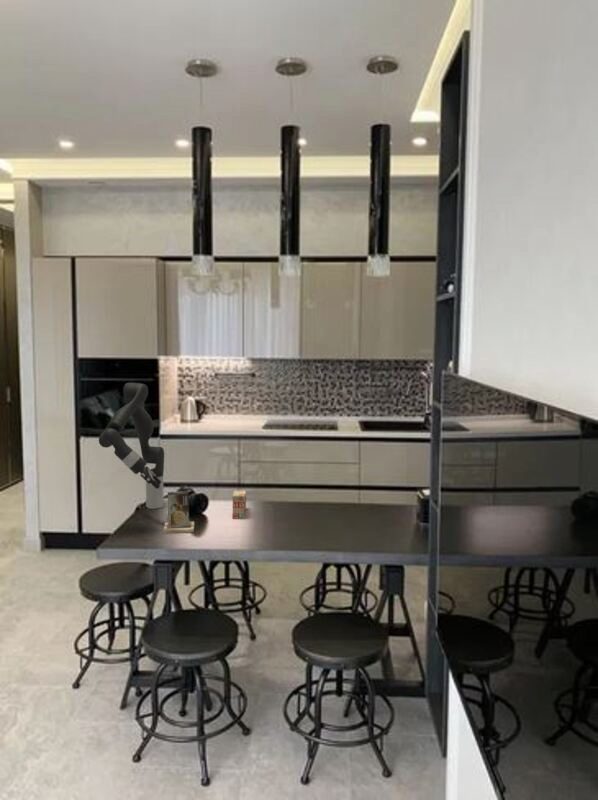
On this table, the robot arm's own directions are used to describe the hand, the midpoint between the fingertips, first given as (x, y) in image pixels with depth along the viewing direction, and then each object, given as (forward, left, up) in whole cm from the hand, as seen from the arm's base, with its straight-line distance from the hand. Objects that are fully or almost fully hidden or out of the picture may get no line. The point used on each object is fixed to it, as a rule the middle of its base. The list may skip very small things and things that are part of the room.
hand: (159, 485), depth 292 cm
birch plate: (0, +9, -21) cm, 23 cm away
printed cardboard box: (-25, +39, -22) cm, 52 cm away
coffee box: (0, +9, -20) cm, 22 cm away
